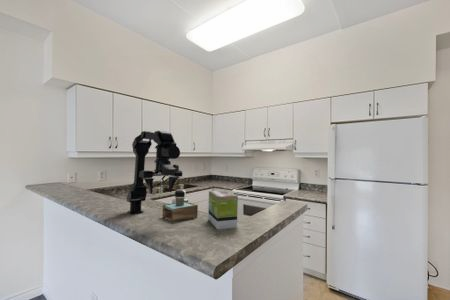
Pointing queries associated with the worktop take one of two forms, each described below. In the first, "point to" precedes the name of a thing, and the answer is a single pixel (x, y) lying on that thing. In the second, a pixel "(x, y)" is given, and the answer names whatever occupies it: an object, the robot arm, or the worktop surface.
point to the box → (180, 212)
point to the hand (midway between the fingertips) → (161, 192)
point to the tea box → (223, 209)
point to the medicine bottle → (180, 195)
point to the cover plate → (178, 204)
